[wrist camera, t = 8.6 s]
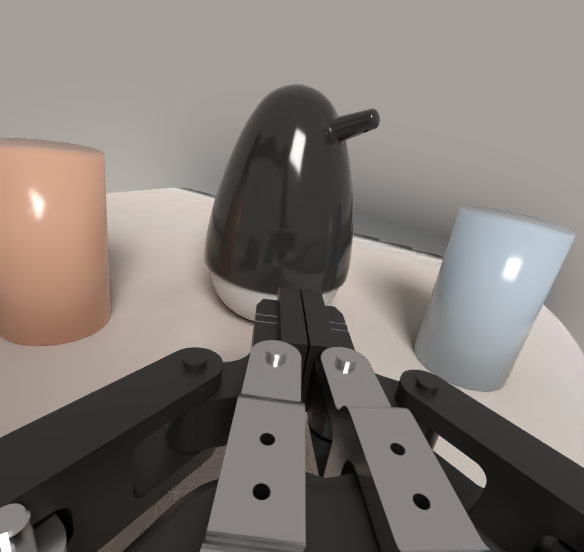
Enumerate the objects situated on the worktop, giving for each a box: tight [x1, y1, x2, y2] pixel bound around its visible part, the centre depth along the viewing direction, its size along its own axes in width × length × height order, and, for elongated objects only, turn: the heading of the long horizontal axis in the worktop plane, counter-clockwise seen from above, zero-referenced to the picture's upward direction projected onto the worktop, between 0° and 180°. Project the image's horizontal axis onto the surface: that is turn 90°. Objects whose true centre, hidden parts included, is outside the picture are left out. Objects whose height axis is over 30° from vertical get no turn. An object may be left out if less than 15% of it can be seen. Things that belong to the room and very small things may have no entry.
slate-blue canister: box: [414, 206, 576, 392], centre depth 24 cm, size 6×6×10 cm
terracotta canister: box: [0, 138, 111, 346], centre depth 21 cm, size 6×6×10 cm
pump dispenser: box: [204, 84, 380, 321], centre depth 25 cm, size 10×10×15 cm
